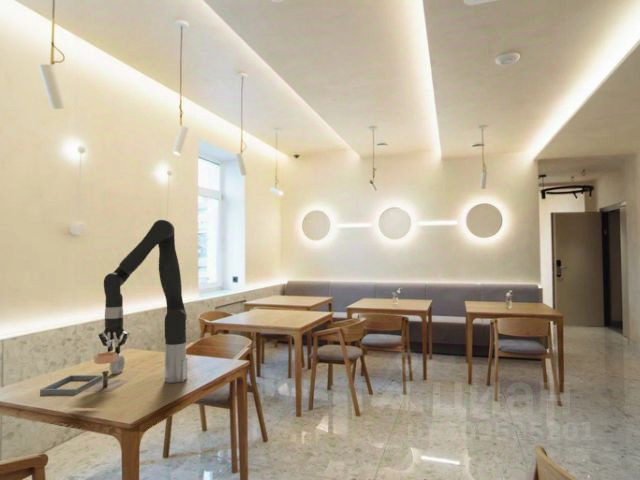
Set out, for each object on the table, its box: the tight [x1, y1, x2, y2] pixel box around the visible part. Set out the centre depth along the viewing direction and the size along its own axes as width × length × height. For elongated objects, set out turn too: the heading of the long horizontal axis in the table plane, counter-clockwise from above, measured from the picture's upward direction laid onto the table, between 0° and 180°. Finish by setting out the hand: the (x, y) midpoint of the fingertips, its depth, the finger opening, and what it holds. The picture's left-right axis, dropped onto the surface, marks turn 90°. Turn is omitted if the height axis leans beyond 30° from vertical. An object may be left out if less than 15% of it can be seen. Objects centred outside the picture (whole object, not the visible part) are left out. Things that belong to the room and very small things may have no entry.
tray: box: [39, 374, 103, 398], centre depth 178 cm, size 15×20×3 cm
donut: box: [109, 353, 126, 375], centre depth 200 cm, size 10×4×10 cm, turn 177°
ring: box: [93, 349, 119, 365], centre depth 180 cm, size 8×13×3 cm, turn 179°
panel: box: [83, 370, 130, 393], centre depth 180 cm, size 12×16×8 cm
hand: (113, 354), depth 185 cm, fingers closed on ring, 2 cm apart
